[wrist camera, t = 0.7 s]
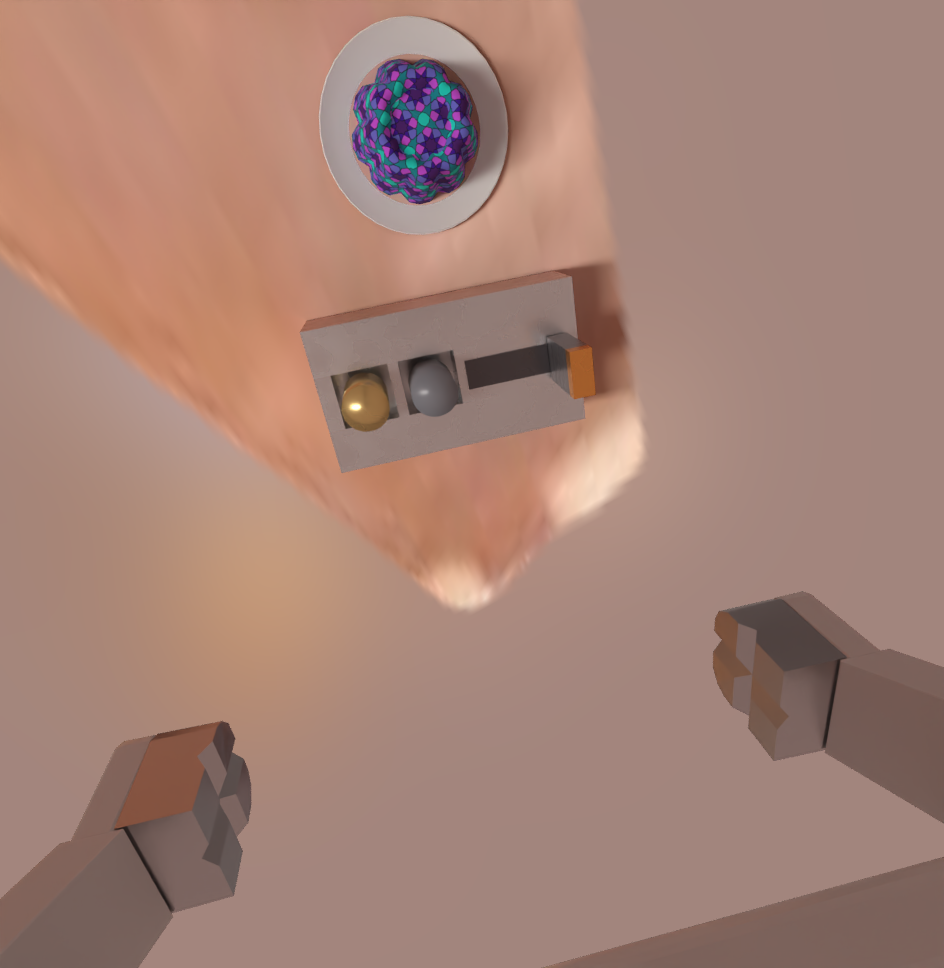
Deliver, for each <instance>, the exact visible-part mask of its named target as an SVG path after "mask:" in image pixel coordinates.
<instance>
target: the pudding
mask: <svg viewBox="0 0 944 968" xmlns="http://www.w3.org/2000/svg"><path fill="white" fill-rule="evenodd" d="M402 54H420V55H425V56H428V57H431V58H434V59H436V60H438V61H440V62H441V63H443V64H445V65H446V66H448V67H449V68H450V69H451V70H453V71H454V72H455V73H456V74H457V75H458V77H459V78H460V79H461V80H462V81H463V82H464V84H465V85H466V87H467V89H468V90H469V92H470V94H471V96H472V98H473V101H474V103H475V105H476V109H477V113H478V117H479V124H480V145H479V150H478V155H477V159H476V161H475V164H474V167H473V169H472V171H471V173H470V175H469V176H468V178H467V180H466V181H465V182H464V183H463V184H462V186H461V187H460V188H459V189H458V190H457V191H455V192H454V193H453V194H452V195H451V196H449V197H447V198H445V199H444V200H442V201H439V202H436V203H433V204H429V205H422V206H417V205H407V204H403V203H399V202H397V201H395V200H392V199H390V198H388V197H387V196H385V195H384V194H382V193H381V192H379V191H378V190H377V189H376V188H375V187H374V186H373V185H372V184H371V183H370V182H369V181H368V180H367V178H366V177H365V176H364V174H363V173H362V171H361V169H360V167H359V166H358V164H357V162H356V159H355V157H354V154H353V151H352V148H351V142H350V137H349V115H350V108H351V104H352V101H353V97H354V94H355V92H356V90H357V88H358V86H359V84H360V83H361V81H362V80H363V79H364V77H365V76H366V75H367V73H368V72H369V71H371V70H372V69H373V68H374V67H375V66H376V65H377V64H379V63H381V62H382V61H384V60H386V59H388V58H391V57H394V56H397V55H402ZM472 108H473V106H472V103H471V100H470V97H469V94H468V93H467V92H466V90H465V89H464V88H463V87H462V85H460V84H458V83H454V82H451V81H449V80H448V78H447V75H446V73H445V70H444V68H443V67H441V66H440V65H439V64H437V63H436V62H434V61H432V60H426V59H421V60H419V61H418V62H416V63H415V64H413V65H411V64H410V63H408V62H405V61H403V60H400V59H396V60H391V61H387V62H386V63H385V64H383V65H382V66H381V67H380V68H378V71H377V75H376V79H375V83H372V84H369V85H365V86H362V87H361V89H360V91H359V92H358V94H357V95H356V97H355V102H354V108H353V110H354V113H355V116H356V118H357V121H358V125H357V127H356V129H355V131H354V132H353V134H352V141H353V149H354V151H355V153H356V155H357V158H358V160H360V161H361V162H363V163H364V164H366V165H368V166H369V167H370V173H371V180H372V182H373V183H374V184H375V185H376V186H377V188H378V189H379V190H381V191H383V192H384V193H386V194H388V195H392V194H398V193H402V195H403V196H404V197H405V198H406V199H407V200H408V201H409V202H411V203H416V204H423V203H427V202H430V201H431V200H432V199H433V197H434V196H435V195H436V193H437V192H447V193H450V192H451V191H453V190H454V189H456V188H457V187H459V185H460V184H461V182H462V181H463V179H464V177H465V163H466V162H468V161H469V160H470V159H471V158H473V157H474V156H475V152H476V149H477V146H478V137H477V131H476V129H475V127H474V125H473V123H472V122H471V120H470V117H471V113H472ZM319 127H320V138H321V143H322V148H323V153H324V156H325V159H326V161H327V164H328V167H329V170H330V172H331V174H332V176H333V178H334V179H335V181H336V183H337V185H338V187H339V188H340V190H341V191H342V192H343V194H344V195H345V196H346V197H347V199H348V200H349V201H350V203H351V204H353V205H354V206H355V207H356V208H357V209H358V210H359V211H360V212H361V213H362V214H363V215H365V216H366V217H368V218H369V219H371V220H372V221H374V222H375V223H377V224H379V225H381V226H383V227H386V228H388V229H390V230H393V231H397V232H401V233H405V234H417V235H425V234H432V233H438V232H441V231H444V230H447V229H450V228H453V227H455V226H456V225H458V224H460V223H461V222H463V221H465V220H467V219H468V218H469V217H470V216H471V215H472V214H474V213H475V212H476V211H477V210H478V209H479V208H480V207H481V206H482V204H483V203H484V202H485V201H486V200H487V198H488V197H489V196H490V194H491V192H492V190H493V189H494V187H495V185H496V184H497V181H498V179H499V176H500V174H501V171H502V168H503V165H504V161H505V156H506V152H507V143H508V121H507V111H506V107H505V102H504V98H503V94H502V91H501V89H500V86H499V84H498V81H497V79H496V76H495V74H494V72H493V71H492V69H491V67H490V66H489V64H488V62H487V61H486V59H485V58H484V57H483V55H482V54H481V53H480V52H479V51H478V50H477V48H476V47H475V46H474V45H473V44H472V43H471V42H470V41H469V40H467V39H466V38H465V37H464V36H463V35H461V34H460V33H459V32H457V31H456V30H454V29H452V28H450V27H449V26H447V25H445V24H443V23H440V22H437V21H434V20H431V19H428V18H424V17H415V16H402V17H392V18H388V19H385V20H382V21H379V22H376V23H374V24H372V25H370V26H369V27H367V28H365V29H364V30H362V31H360V32H359V33H358V34H357V35H355V36H354V37H353V38H352V39H351V40H350V41H349V42H348V43H347V44H346V45H345V46H344V47H343V49H342V50H341V52H340V53H339V54H338V56H337V57H336V59H335V60H334V62H333V64H332V66H331V68H330V70H329V72H328V75H327V77H326V80H325V83H324V87H323V91H322V94H321V101H320V110H319Z"/></svg>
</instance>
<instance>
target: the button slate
mask: <svg viewBox="0 0 944 968" xmlns="http://www.w3.org/2000/svg"><path fill="white" fill-rule="evenodd" d="M408 383H409V388H410V392H411V396H412V400H413V403H414V405H415V407H416V408H417V409H418V410H419V411H420V412H421V413H423V414H425V415H427V416H431V417H438V416H442V415H445V414H447V413H448V412H450V411H451V410H452V409H453V408H454V406H455V405H456V403H457V400H458V387H457V384H456V382H455V380H454V378H453V377H452V375H451V373H450V371H449V369H448V368H447V366H446V365H445V364H444V363H442V362H441V361H439V360H436V359H425V360H422V361H420V362H418V363H417V364H415V365H414V366H413V368H412V369H411V371H410V373H409V377H408Z"/></svg>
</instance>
